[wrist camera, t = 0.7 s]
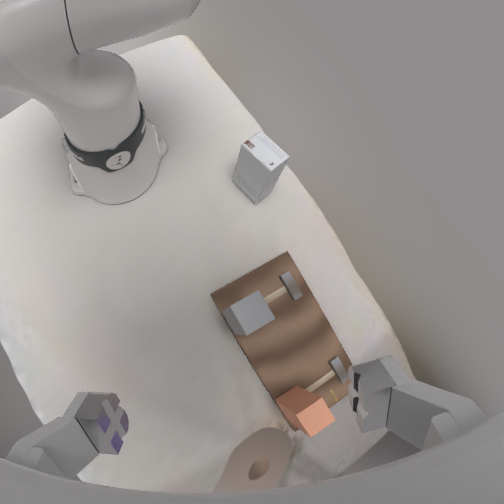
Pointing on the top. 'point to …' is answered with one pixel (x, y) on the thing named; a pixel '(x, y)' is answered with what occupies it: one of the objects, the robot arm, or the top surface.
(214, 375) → the top surface
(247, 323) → the grey tall block
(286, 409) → the plug terracotta
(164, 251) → the top surface
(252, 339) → the wooden board
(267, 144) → the skincare box
